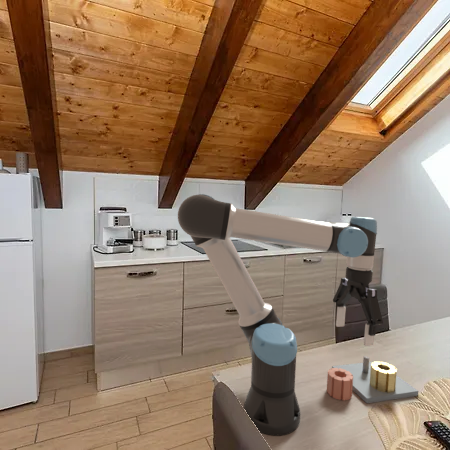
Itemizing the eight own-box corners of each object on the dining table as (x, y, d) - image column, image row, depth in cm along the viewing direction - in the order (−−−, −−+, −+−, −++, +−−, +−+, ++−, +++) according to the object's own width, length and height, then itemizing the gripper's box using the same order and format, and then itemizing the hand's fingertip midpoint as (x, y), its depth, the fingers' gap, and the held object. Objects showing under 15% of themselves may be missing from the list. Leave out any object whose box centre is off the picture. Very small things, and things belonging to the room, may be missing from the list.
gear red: (335, 401, 93) (336, 381, 93) (322, 387, 100) (323, 369, 99) (356, 398, 95) (357, 379, 94) (342, 385, 102) (343, 366, 101)
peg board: (366, 403, 93) (367, 381, 92) (331, 370, 110) (333, 352, 110) (418, 395, 97) (419, 375, 96) (376, 365, 114) (378, 347, 114)
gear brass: (380, 393, 95) (382, 374, 94) (365, 380, 102) (366, 362, 101) (400, 391, 97) (402, 372, 96) (384, 378, 103) (385, 360, 103)
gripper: (401, 278, 86) (394, 353, 88) (344, 259, 110) (339, 319, 112) (378, 278, 85) (371, 355, 86) (325, 259, 108) (320, 320, 110)
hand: (353, 335), depth 99 cm, fingers open, 13 cm apart
